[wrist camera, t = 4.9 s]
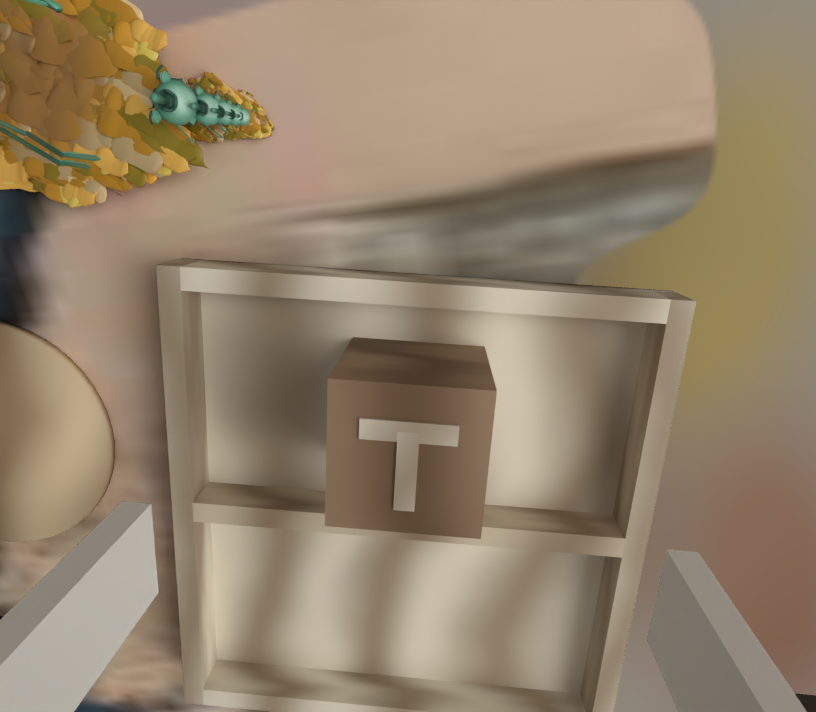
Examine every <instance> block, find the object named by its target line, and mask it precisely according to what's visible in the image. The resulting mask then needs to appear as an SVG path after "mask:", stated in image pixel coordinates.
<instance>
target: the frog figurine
mask: <svg viewBox="0 0 816 712" xmlns="http://www.w3.org/2000/svg"><path fill="white" fill-rule="evenodd" d="M166 46H167V34H166V32H164V31H162V30H159V29H156V28H153V27H152V26H151V25H149V24H148V23H146V22H145V21H144V19H143V14H142V12H141V11H140V9H139V8H137V7H136V6H135V5H134V4H132V3H131V2H129V1H127V0H0V189H23V190H26V191H30V192H42V193H43V194H44V195H45V196H46V197H48V198H50V199H51V200H54V201H58V202H62V203H65V204H68V205H69V206H70V207H71V208H74V207H80V206H83V205H84V206H88V205H92V204H95V202H94V201H97V202H98V203H99V204H101V203H103V202H105V201H106V197H107V192H106V188H107V187H109V188H112V189H116V190H120V191H123V192H125V191H124V190H129V189H132V188H133V186H132V185H134V186H136V187H143V186H144V184H145V183H146V182H147V183H150V184H152V183H154V182H155V181H156V180H157V177H165V176H169V175H171V174H172V170H173V171H175V172H176V173H184V172H186V171H189V170H190V169H189V167H188V164H192V165H195V166H202V167H206V166H205V165H204V161H203V153H202V150H201V148H200V147H199V146H198V145H197V144H196V143H195V142H194V141H195V139H196V140H198V141H200V142H201V141H202V140H205V141H207V142H209V143H213V141H212V139H213V140H218V141H219V142H222V141H223V139H224V138H226V139H232V140H236V139H239V138H242V139H245V138H251V139H257V138H259V139H261V138H266V137H267V136H271V134H272V132H273V130H274V127H273V125H272V122H269V119H268V118H267V116H266V112H265V111H264V109H263V108H262V107H261V106H260V105H259V104H258V103H257V102H256V100H255V99H254V98H253V95H252V94H250V93H248V92H246V93H245V91H242V90H239V91H238V92H237V91H235V90H234V89H233V88H231V87H229V86H228V85H226V84H225V83H224V82H223V81H221V80H220V79H218V78H217V77H216V75H215V74H212V73H208V72H205V73H204V74H205V76H206V77H203V78H202V77H197V78H196V80H195V79H193V78H190V79H189V82H190V83H192V85H190V84H188V83H186V84H185V83H184V82H183V79H176V78H170V75H169V73H168V71H167V69H166V68H165V67H164V66H163V65H162V64H161V63H160V62H159V61H158V58H157V57H158V52H160V51H161V50H162V49H163V48H164V47H166ZM178 80H181V81H178ZM206 168H207V167H206ZM190 171H191V170H190ZM122 188H123V189H124V190H123V189H122ZM111 191H112V190H111ZM113 192H114V191H113ZM115 193H116V192H115ZM117 194H118V193H117ZM118 195H120V194H118ZM120 196H122V195H120Z"/></svg>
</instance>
